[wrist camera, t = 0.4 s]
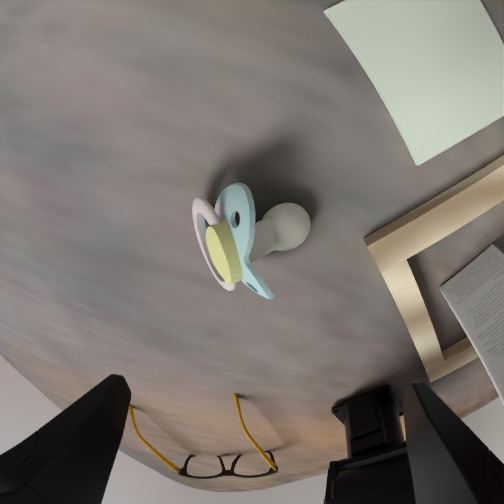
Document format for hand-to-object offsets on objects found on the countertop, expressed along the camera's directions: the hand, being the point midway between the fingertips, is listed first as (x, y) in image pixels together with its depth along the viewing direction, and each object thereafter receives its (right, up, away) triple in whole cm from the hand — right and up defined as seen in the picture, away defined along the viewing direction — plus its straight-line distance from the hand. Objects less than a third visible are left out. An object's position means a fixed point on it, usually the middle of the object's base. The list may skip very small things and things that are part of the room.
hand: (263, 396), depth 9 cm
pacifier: (-2, +6, +14) cm, 15 cm away
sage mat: (+11, +17, +6) cm, 21 cm away
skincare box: (+18, +2, +13) cm, 22 cm away
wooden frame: (+18, +2, +13) cm, 22 cm away
